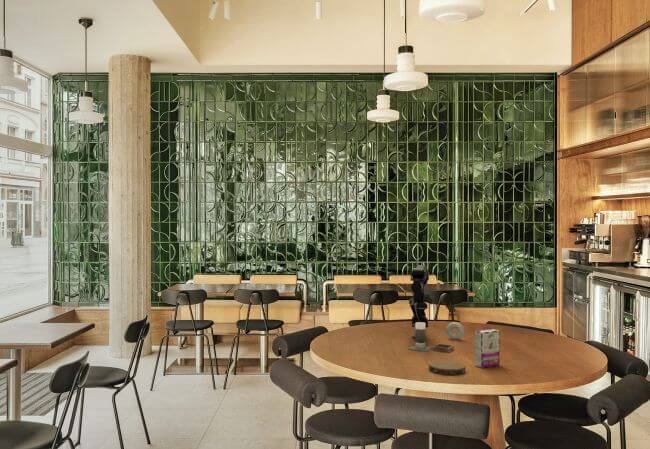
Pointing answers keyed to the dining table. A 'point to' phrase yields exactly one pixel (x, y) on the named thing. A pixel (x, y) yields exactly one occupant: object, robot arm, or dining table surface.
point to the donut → (457, 326)
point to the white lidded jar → (420, 335)
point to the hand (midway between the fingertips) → (417, 319)
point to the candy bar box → (487, 348)
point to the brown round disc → (447, 367)
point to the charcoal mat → (420, 349)
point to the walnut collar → (443, 348)
